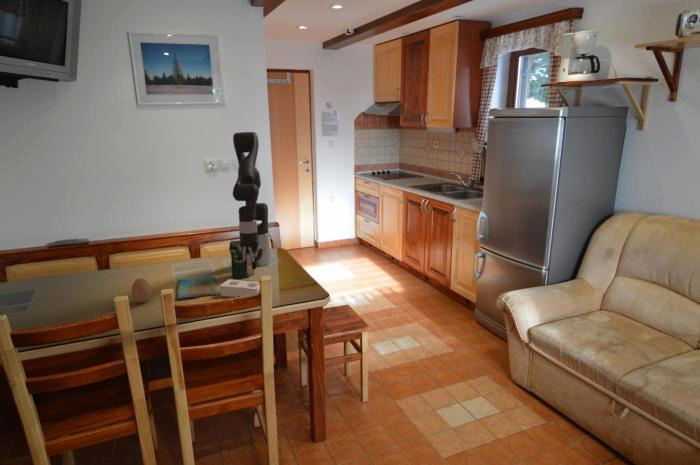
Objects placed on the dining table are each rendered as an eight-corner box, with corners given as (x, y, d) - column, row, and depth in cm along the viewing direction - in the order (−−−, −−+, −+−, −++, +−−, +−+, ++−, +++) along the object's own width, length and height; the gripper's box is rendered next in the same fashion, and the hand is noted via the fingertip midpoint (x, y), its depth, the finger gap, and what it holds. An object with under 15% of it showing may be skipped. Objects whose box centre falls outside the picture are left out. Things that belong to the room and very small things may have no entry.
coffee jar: (251, 273, 221) (249, 238, 217) (250, 278, 214) (248, 242, 209) (232, 274, 220) (229, 239, 215) (230, 279, 212) (227, 243, 207)
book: (215, 279, 214) (215, 274, 214) (217, 297, 193) (217, 291, 192) (178, 283, 209) (177, 278, 208) (176, 302, 187) (175, 297, 187)
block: (229, 289, 200) (228, 279, 199) (265, 293, 196) (265, 282, 194) (220, 296, 192) (219, 285, 191) (257, 300, 188) (257, 289, 187)
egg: (130, 302, 186) (127, 278, 184) (148, 297, 191) (145, 274, 189) (136, 307, 181) (133, 283, 178) (155, 302, 186) (152, 278, 183)
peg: (249, 273, 192) (248, 251, 190) (255, 274, 191) (254, 252, 189) (246, 275, 189) (244, 253, 187) (252, 276, 189) (251, 254, 186)
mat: (234, 279, 212) (234, 278, 212) (253, 281, 210) (253, 280, 210) (224, 287, 203) (223, 286, 203) (243, 289, 200) (243, 288, 200)
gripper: (267, 229, 187) (269, 267, 192) (237, 227, 191) (240, 264, 195) (259, 233, 180) (261, 272, 185) (229, 231, 184) (231, 270, 188)
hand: (250, 268), depth 190 cm, fingers closed on peg, 3 cm apart
